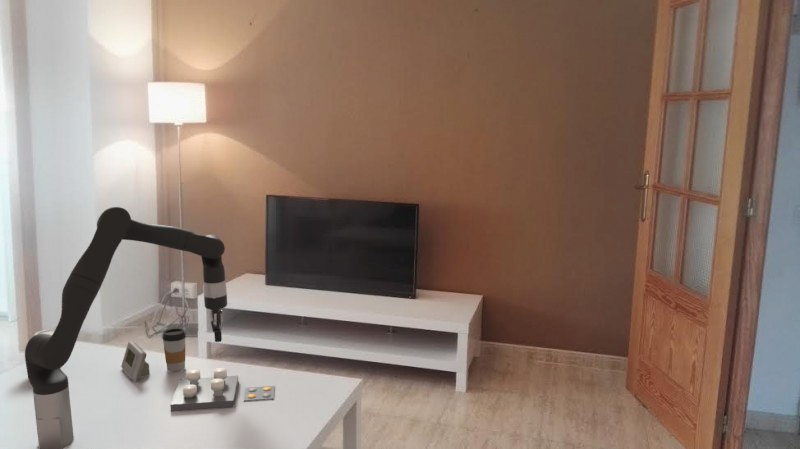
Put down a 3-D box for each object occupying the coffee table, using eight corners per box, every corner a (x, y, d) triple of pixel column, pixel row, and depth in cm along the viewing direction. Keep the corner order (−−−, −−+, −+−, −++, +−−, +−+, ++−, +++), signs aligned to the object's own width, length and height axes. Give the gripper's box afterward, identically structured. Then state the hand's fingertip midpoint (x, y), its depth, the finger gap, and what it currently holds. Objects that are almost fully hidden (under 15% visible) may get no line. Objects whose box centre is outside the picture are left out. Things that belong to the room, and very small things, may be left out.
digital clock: (121, 368, 247) (119, 341, 245) (146, 363, 251) (144, 337, 249) (124, 384, 233) (122, 356, 231) (151, 380, 237) (149, 352, 235)
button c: (199, 388, 226) (199, 374, 225) (186, 389, 225) (185, 375, 224) (201, 383, 230) (200, 369, 229) (188, 384, 229) (187, 369, 228)
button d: (226, 387, 227) (226, 372, 226) (213, 387, 226) (212, 373, 225) (227, 381, 231) (227, 367, 230) (215, 382, 231) (214, 368, 230)
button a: (196, 404, 217) (195, 389, 216) (182, 405, 217) (181, 390, 216) (198, 399, 222) (197, 384, 221) (184, 399, 221) (184, 385, 220)
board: (233, 407, 216) (233, 400, 216) (170, 411, 213) (170, 404, 212) (238, 382, 235) (238, 375, 235) (180, 385, 232) (180, 379, 232)
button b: (224, 398, 218) (223, 383, 217) (210, 399, 218) (209, 384, 217) (225, 392, 223) (224, 378, 222) (212, 393, 222) (211, 378, 221)
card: (273, 399, 222) (273, 397, 222) (243, 401, 220) (243, 399, 220) (274, 386, 232) (274, 385, 232) (245, 388, 230) (245, 387, 230)
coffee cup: (163, 367, 248) (161, 329, 245) (186, 363, 252) (184, 326, 249) (165, 375, 241) (163, 337, 238) (189, 371, 244) (186, 333, 241)
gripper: (206, 288, 228) (209, 334, 232) (201, 300, 216) (205, 349, 219) (228, 287, 230) (231, 333, 233) (224, 298, 217) (227, 347, 221)
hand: (218, 341), depth 226 cm, fingers closed
